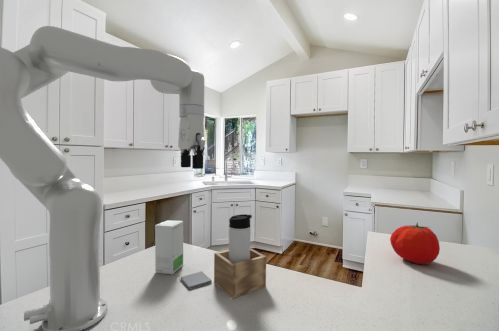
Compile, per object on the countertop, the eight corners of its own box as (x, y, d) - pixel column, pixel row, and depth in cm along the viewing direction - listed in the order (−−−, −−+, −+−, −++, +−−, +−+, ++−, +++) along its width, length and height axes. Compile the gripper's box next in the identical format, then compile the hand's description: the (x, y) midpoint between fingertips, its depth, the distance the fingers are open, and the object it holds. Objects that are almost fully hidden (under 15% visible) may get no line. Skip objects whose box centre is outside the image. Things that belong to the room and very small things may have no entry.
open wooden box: (232, 298, 68) (232, 265, 67) (214, 282, 76) (214, 253, 76) (265, 286, 74) (266, 256, 74) (245, 272, 83) (246, 245, 83)
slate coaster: (189, 289, 72) (189, 286, 72) (180, 279, 78) (180, 277, 78) (211, 282, 76) (211, 280, 76) (201, 273, 82) (201, 271, 82)
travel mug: (249, 288, 71) (250, 217, 71) (226, 286, 72) (226, 216, 72) (252, 277, 78) (253, 213, 77) (231, 276, 79) (231, 212, 78)
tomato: (434, 258, 97) (436, 223, 96) (443, 273, 84) (445, 233, 84) (388, 251, 104) (389, 218, 103) (390, 264, 91) (391, 226, 91)
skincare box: (172, 275, 81) (172, 226, 80) (153, 273, 82) (153, 225, 81) (184, 264, 89) (184, 220, 88) (166, 262, 90) (167, 219, 90)
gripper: (170, 115, 83) (170, 166, 84) (190, 107, 69) (190, 169, 70) (192, 117, 88) (192, 166, 88) (215, 110, 74) (215, 169, 74)
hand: (191, 167), depth 79 cm, fingers open, 9 cm apart
